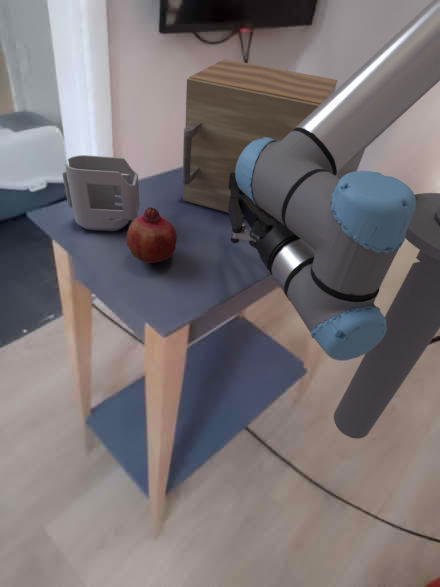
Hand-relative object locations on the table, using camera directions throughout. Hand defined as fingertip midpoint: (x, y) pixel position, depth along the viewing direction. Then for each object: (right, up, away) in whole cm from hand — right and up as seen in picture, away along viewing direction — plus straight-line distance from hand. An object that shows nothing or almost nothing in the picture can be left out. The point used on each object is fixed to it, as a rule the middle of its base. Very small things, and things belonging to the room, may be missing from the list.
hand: (233, 180), depth 69 cm
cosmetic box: (+25, +5, +26) cm, 36 cm away
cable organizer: (-23, -7, +5) cm, 25 cm away
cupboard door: (0, -5, +10) cm, 11 cm away
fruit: (-14, -14, -2) cm, 20 cm away
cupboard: (+4, +2, +19) cm, 20 cm away
